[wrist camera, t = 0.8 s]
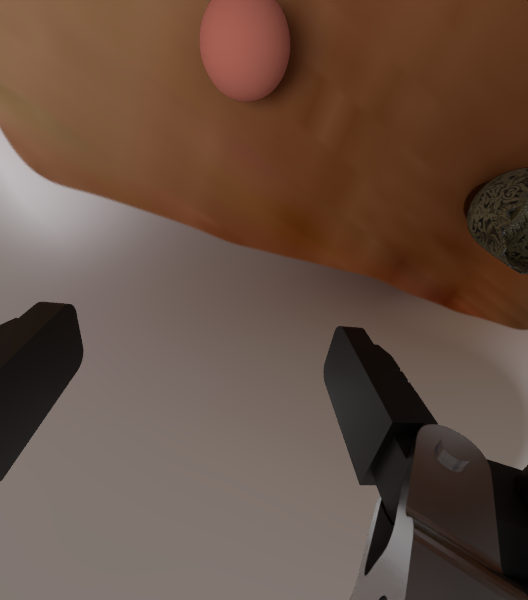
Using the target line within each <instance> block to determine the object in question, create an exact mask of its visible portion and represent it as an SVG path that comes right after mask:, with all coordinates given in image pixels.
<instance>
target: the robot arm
mask: <svg viewBox="0 0 528 600" xmlns="http://www.w3.org/2000/svg"><path fill="white" fill-rule="evenodd" d="M82 358H83V345H82V339H81V334H80V329H79V324H78V319H77V313H76V310H75V308H74V306H73V305H71V304H64V303H50V302H38V303H37V304H35V305H34V306H33V307H32V308H30V309H29V310H28V311H27V312H26V313H24V314H23V315H22V316H21V317H20V318H14V319H12V320H10V321H8V322H6V323H4V324H1V325H0V481H2V479H3V478H4V476H5V475H6V474H7V472H8V471H9V469H10V468H11V466H12V465H13V463H14V462H15V460H16V459H17V458H18V456H19V455H20V453H21V452H22V450H23V449H24V447H25V446H26V445H27V443H28V442H29V440H30V438H31V437H32V436H33V434H34V433H35V431H36V430H37V429H38V427H39V426H40V424H41V423H42V421H43V420H44V418H45V417H46V416H47V414H48V413H49V411H50V410H51V408H52V407H53V405H54V404H55V402H56V401H57V399H58V398H59V397H60V395H61V394H62V392H63V391H64V389H65V388H66V386H67V385H68V384H69V382H70V381H71V379H72V378H73V376H74V375H75V373H76V372H77V371H78V369H79V367H80V365H81V362H82ZM324 381H325V385H326V387H327V391H328V394H329V396H330V399H331V402H332V405H333V408H334V411H335V414H336V417H337V420H338V423H339V426H340V429H341V431H342V434H343V437H344V440H345V443H346V446H347V449H348V452H349V455H350V458H351V461H352V464H353V467H354V470H355V472H356V475H357V478H358V481H359V484H360V485H376V486H377V488H378V491H379V493H380V497H379V498H378V500H377V503H376V506H375V511H374V515H373V518H372V522H371V527H370V530H369V534H368V538H367V542H366V547H365V550H364V554H363V559H362V563H361V567H360V570H359V574H358V578H357V581H356V585H355V587H354V590H353V593H352V595H351V597H350V600H528V465H527V467H526V468H524V470H523V471H522V470H519V469H516V468H513V467H510V466H506V465H503V464H500V463H497V462H493V461H490V460H487V459H486V458H485V457H484V455H483V454H482V453H481V451H480V450H479V449H478V448H477V447H476V446H475V445H474V444H473V443H472V442H471V441H470V440H468V439H467V438H466V437H464V436H463V435H461V434H460V433H458V432H456V431H454V430H452V429H450V428H448V427H445V426H441V425H438V423H437V422H436V420H435V419H434V417H433V416H432V414H431V413H430V411H429V410H428V409H427V407H426V406H425V404H424V403H423V401H422V400H421V398H420V397H419V395H418V394H417V392H416V391H415V390H414V388H413V387H412V385H411V384H410V383H408V380H407V378H406V377H405V375H404V374H403V372H401V371H400V368H399V367H398V365H397V363H396V362H395V361H394V359H393V357H392V356H391V355H390V354H388V353H387V352H386V351H385V350H384V349H382V348H381V347H380V346H379V345H374V344H373V342H372V341H371V340H370V338H369V336H368V335H367V333H366V331H365V330H364V329H363V328H356V327H344V326H338V327H337V328H336V330H335V332H334V335H333V339H332V341H331V345H330V348H329V351H328V355H327V358H326V361H325V364H324Z"/></svg>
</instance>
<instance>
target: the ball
mask: <svg viewBox="0 0 528 600" xmlns="http://www.w3.org/2000/svg"><path fill="white" fill-rule="evenodd" d="M200 51H201V56H202V61H203V64H204V67H205V69H206V72H207V74H208V76H209V77H210V79H211V81H212V82H213V83H214V85H215V86H216V87H217V88H218V89H219V90H220V91H221V92H222V93H224V94H225V95H226V96H228V97H230V98H232V99H234V100H238V101H242V102H252V101H256V100H259V99H262V98H264V97H265V96H267V95H268V94H270V93H271V92H272V91H273V90H274V89H275V88H276V87H277V85H278V84H279V83H280V81H281V79H282V78H283V76H284V73H285V71H286V68H287V65H288V61H289V56H290V33H289V28H288V24H287V21H286V17H285V15H284V13H283V10H282V8H281V7H280V5H279V3H278V2H277V1H276V0H211V1H210V3H209V4H208V6H207V8H206V10H205V13H204V15H203V19H202V22H201V28H200Z"/></svg>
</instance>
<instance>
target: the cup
mask: <svg viewBox="0 0 528 600" xmlns="http://www.w3.org/2000/svg"><path fill="white" fill-rule="evenodd" d="M464 214H465V216H466V218H467V224H468V229H469V231H470V234H471V235H472V237H473V238H474V239H475V241H476V242H477V243H478V244H479V245H480V246H481V247H483V248H484V249H485V250H486V251H488V252H489V253H491V254H492V255H493V256H495V257H496V258H497V259H499V260H500V261H502V262H503V263H505V264H506V265H507V266H509V267H511V268H513V270H515V271H517V272H519V273H520V274H523V275H524V274H528V167H527V168H520V169H516V170H512V171H509V172H506V173H504V174H501V175H499V176H497V177H496V178H494V179H493V180H491V181H490V182H487V183H484V184H482V185H480V186H478V187H476V188H475V189H474V190H473V191H472V192H471V193H470V194H469V195H468V197H467V199H466V201H465V203H464Z"/></svg>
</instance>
